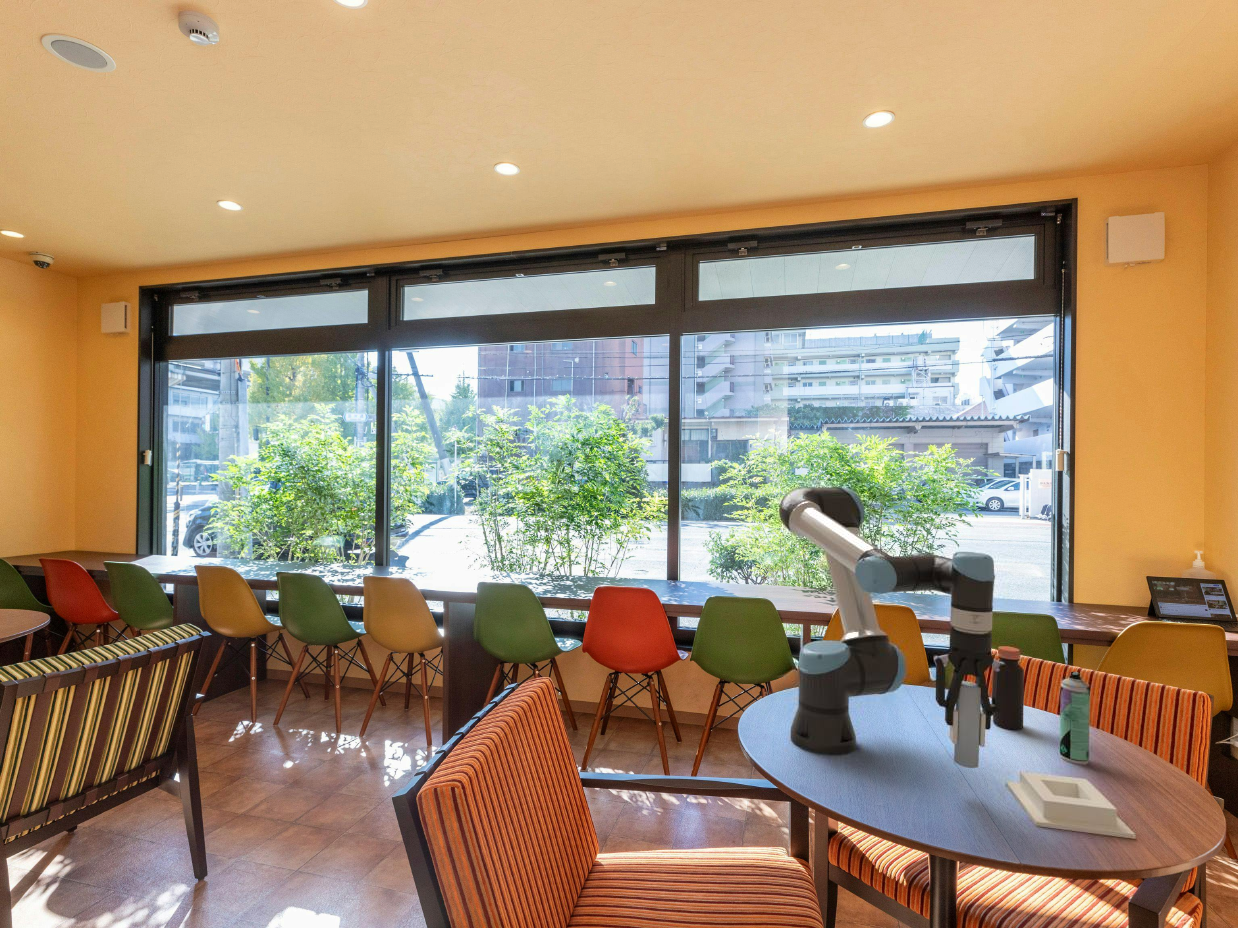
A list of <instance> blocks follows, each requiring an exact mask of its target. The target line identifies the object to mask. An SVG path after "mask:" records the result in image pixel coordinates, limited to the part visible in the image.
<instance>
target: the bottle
mask: <svg viewBox="0 0 1238 928" xmlns="http://www.w3.org/2000/svg"><path fill="white" fill-rule="evenodd" d="M997 657H998V661H1002V662H1003V663H1005V664H1006V665H1007V666H1008V669H1007V671H1006V673H1005V675H1004V684H1003V701H1002V711H1001V712H1000V713H998V712H995V713H993V715H992V722H993V724H994V725H996V726H998V727H999V728H1002V729H1006V730H1012V731H1019V730H1022V729H1023V727H1024V701H1025V700H1024V699H1025V698H1024V695H1025V694H1024V690H1025V687H1024V686H1025V680H1024V679H1025V670H1024V669H1023V667H1022V666H1021V665H1020V664H1019V661H1020V658H1021V650H1020V648H1016V647H1013V646H1008V645H1005V646H1004V645H1001V646H998V647H997Z"/></svg>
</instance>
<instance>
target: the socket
mask: <svg viewBox="0 0 1238 928" xmlns="http://www.w3.org/2000/svg"><path fill="white" fill-rule="evenodd" d="M1005 787H1006V788H1007V789H1008V791H1010V793H1011V794H1012V796H1013V797H1014V799H1015V800H1016V801H1017V803H1018V804H1019V805H1020V806H1021V807H1022V810H1024V812H1025V814H1027V816H1028V818H1029V819H1030V820H1031V822H1033V824H1034V825H1035V827H1043V828H1048V829H1049V828H1050V829H1056V830H1057V829H1058V830H1064V831H1071V832H1072V831H1073V832H1081V833H1087V834H1088V833H1089V834H1096V835H1102V836H1110V837H1111V836H1112V837H1118V838H1126V839H1133V840H1135V839H1136V833H1135V832H1134V831H1132V830H1131V829H1130V828H1129V826H1127V824H1126V823H1124V822H1123V821H1122V820H1121V818H1119V817H1118V808H1116V807H1115V806H1114V805H1113V804H1112V803H1111V802H1110V801H1109V800H1108V799H1107V798H1106V797H1105V796H1104V795H1103V794H1102V793H1101V792H1100V791H1099V790H1098V789H1097V788H1096V787H1095V786H1094V785H1093V784H1092V783H1091V782H1090V781H1089V780H1087V778H1080V777H1070V776H1064V775H1054V774H1045V773H1038V772H1037V773H1036V772H1029V771H1019V782H1016V781H1008V780H1007V781H1006V780H1005Z"/></svg>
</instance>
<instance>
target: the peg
mask: <svg viewBox="0 0 1238 928" xmlns="http://www.w3.org/2000/svg"><path fill="white" fill-rule="evenodd" d="M955 708H956V710H957V711H958V733H957V744H954V749H953V751H954V752H953V761H954V762H955V763H956V765H959V766H961V767H963V768H969V769H971V768H972V769H975V768H978V767H979V760H980V758H979V757H980V756H979V755H980V745H979V736H980V710H981V708H982V707H981V688H980V687H979V686H978V685H977V683H976V682H972V681H964V680H963V681H962V684H961V687H960V691H959V694H958V698H957V701H956V705H955Z"/></svg>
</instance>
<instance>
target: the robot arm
mask: <svg viewBox="0 0 1238 928" xmlns="http://www.w3.org/2000/svg"><path fill="white" fill-rule="evenodd" d="M864 506H865V505H864V503H863V501H862V499H861V497H860V495H859V494H857V492H855V491H854V490H852V489H851V488H847V487H840V486H831V487H830V486H829V487H828V486H824V487H823V486H821V487H819V486H818V487H817V486H816V487H813V486H812V487H811V486H809V487H808V486H802V487H801V486H800V487H796V488H793V489H791V490H789V492H787V493H786V494H785V495H784V496H783V498H781V501H780V503H779V509H778V514H779V515H778V516H779V518H780V521H781V522H782V525H783V526H784V527H785V528H786V529H787V530H788V531H789V532H791V533H792V534H793V535H795V536H797V537H799V538H800V537H801V538H803V537H805V538H806V539H807V540H808V541H810V542H811V543H812V544H814V545H816V546H817V547H818V548H819V549H821V550H823V551H824V554H825V558H826V561H827V565H828V569H829V570H828V571H829V574H830V579H831V583H832V587H833V591H834V595H835V599H836V603H837V608H838V613H839V617H840V620H841V624H842V625H841V626H842V629H843V636H842V637H841V639H840V640H839V641H838V640H832V639H830V640H825V639H824V640H816V641H811V642H808V643H806V644H804V645H803V646H802V647H801V648H800V651H799V657H798V658H799V659H798V667H797V668H798V703H797V704H798V706H797V709H796V713H795V715H794V716H793V720H792V723H791V727H790V740H791V741H792V743H793V744H794V745H796V746H798V747H800V748H801V749H803V750H806V751H807V752H808V751H809V752H813V753H816V754H822V755H831V756H832V755H833V756H834V755H835V756H837V755H846V754H850V753H852V752H853V751H855V749H856V748H857V736H856V732H855V729H854V726H853V722H852V720H851V716H850V711H849V709H850V707H849V704H850V701H849V700H850V698H852V697H861V696H863V697H864V696H871V695H872V696H873V695H885V694H886V693H892V692H895V691H897V690H898V689H899V688H901V686H902V685H903V683H904V681H905V679H906V675H907V663H906V659H905V656H904V654H903V652H902V650H901V649H900V648H899V647H898V646H897V645H896V644H893V643H891V642H890V639H889V635H888V634H887V633H886V632H884V631H883V630H881V628H880V627H879V623H878V618H877V615H876V610H875V608H874V604H873V603H874V602H873V600H872V595H871V594H873V593H875V594H887V593H888V594H889V593H901V592H902V593H903V592H922V591H923V592H924V591H934V592H938V593H943V594H946V595H950V620H949V621H950V623H949V624H950V625H951V627H950V628H949V647H948V650H947V651H946V654H943V655H942V654H941V655H937V654H934V655H933V657H932V658H933V662H934V664H935V701H936V703H937V704H938V706H939V707H942V708H945V709H944V710H945V711H944V712H945V713H944V721H945V723H946V724H947V726H949V739H950V741H951V742H952V744H954V745H955V744H957V733H958V711H957V710H956V701H957V698H958V694H959V691H960V687H961V684H962V681H964V679H965V677H966V676H973V677H974V678H975V683H976V684H977V685H978V686H979V687H980V688H981V708H982V709H980V736H979V748H986V747H985V746H986V731H987V730H989V731H990V729H991V724H992V723H991V722H992V717H993V713H995V712H998V713H1000V712H1001V711H1002V701H1003V684H1004V675H1005V673H1006V671H1007V669H1008V666H1007V665H1006V664H1005V663H1003V662H1002V661H999V660H997V659H995V658H994V656H993V655H992V647H993V646H992V644H993V643H992V640H993V634H992V632H990V631H992V630H993V609H994V606H993V603H994V591H995V590H994V586H995V579H996V575H995V561H994V558H993V557H992V556H991V555H989V554H986V553H982V552H976V551H975V552H974V551H956V552H955V553H953V555H952V558H951V557H946V556H941V555H937V554H933V553H929V552H914V553H913V554H911V555H902V556H901V555H899V556H896V555H895V556H894V555H890V554H889V553H887V552H885V551H883V550H882V549H880V548H879V547H877V546H875V545H874V544H873V543H870V542H869V541H867V540H865V539H864V538H863V537H862V536H860V535H859V534H860V532H861V528H860V527H862V525H863V523H864V520H865V518H864V516H865V514H866V511H865V507H864ZM948 661H949V662H950V663H951V665H952V667H953V671H952V677H951V680H950V684H949V687H948V691H947V694H946V669H945V668H946V667H947V666H948ZM990 667H991V668H992V670H993V674H992V688H991V700H990V696H989V692H988V686H987V680H986V679H987V677H986V673H985V672H987V670H989V668H990Z"/></svg>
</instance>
